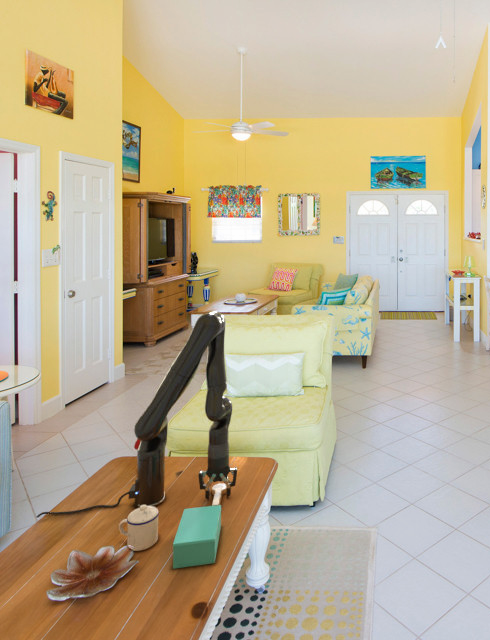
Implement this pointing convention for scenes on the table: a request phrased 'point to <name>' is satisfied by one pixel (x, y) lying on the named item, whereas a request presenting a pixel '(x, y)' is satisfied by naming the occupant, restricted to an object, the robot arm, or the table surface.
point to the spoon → (218, 493)
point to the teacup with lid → (141, 527)
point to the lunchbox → (196, 552)
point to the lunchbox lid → (198, 525)
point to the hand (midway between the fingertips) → (217, 498)
